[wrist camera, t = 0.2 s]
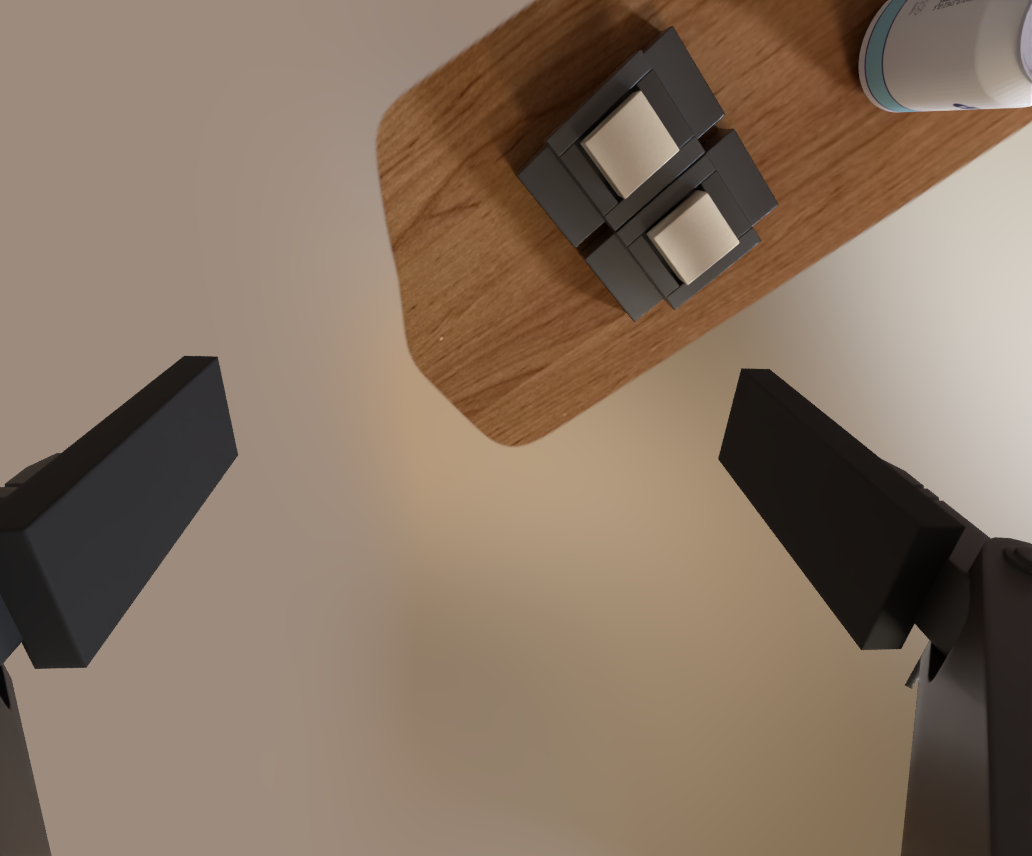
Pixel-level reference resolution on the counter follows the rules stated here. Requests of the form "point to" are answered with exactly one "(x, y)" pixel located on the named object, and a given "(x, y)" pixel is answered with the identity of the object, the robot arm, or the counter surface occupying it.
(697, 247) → the e key
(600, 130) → the c key
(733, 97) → the counter surface
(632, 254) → the far key block
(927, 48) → the beverage can
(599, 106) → the near key block
